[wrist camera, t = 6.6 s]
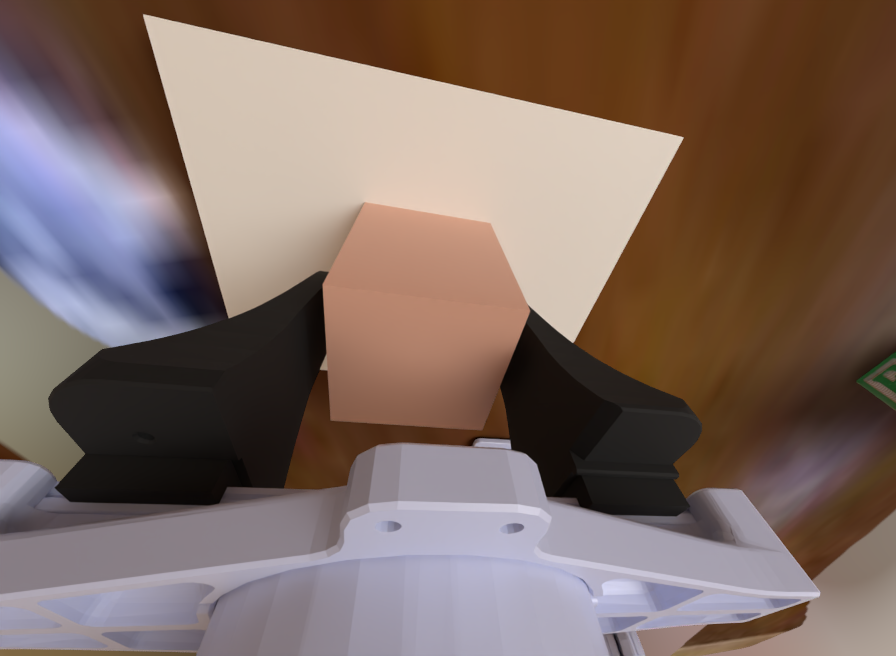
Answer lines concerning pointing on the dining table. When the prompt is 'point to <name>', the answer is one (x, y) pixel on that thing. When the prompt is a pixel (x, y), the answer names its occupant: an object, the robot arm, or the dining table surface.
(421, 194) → the post board
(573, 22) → the dining table surface
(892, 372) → the stack of blocks
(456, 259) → the salmon orange block
